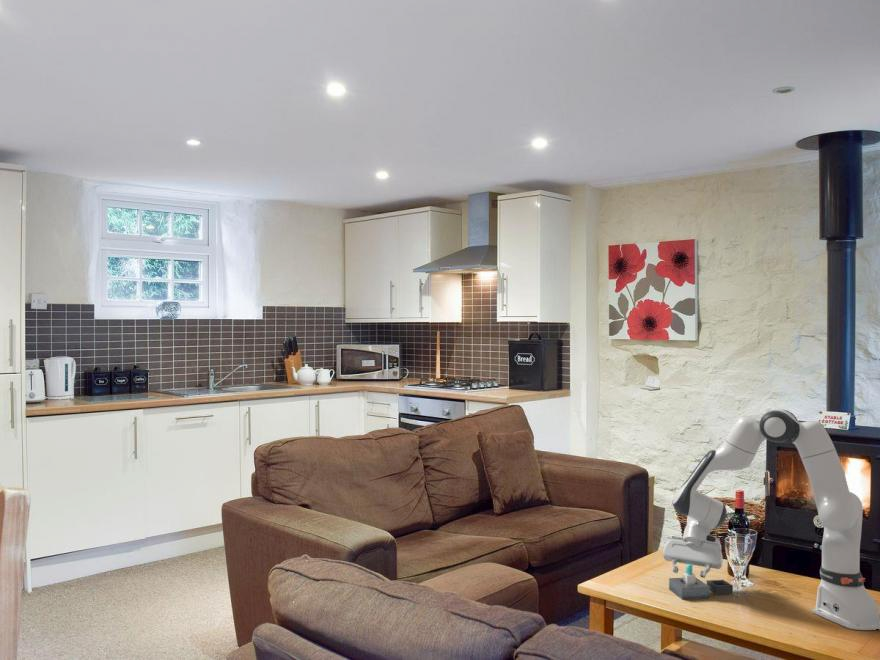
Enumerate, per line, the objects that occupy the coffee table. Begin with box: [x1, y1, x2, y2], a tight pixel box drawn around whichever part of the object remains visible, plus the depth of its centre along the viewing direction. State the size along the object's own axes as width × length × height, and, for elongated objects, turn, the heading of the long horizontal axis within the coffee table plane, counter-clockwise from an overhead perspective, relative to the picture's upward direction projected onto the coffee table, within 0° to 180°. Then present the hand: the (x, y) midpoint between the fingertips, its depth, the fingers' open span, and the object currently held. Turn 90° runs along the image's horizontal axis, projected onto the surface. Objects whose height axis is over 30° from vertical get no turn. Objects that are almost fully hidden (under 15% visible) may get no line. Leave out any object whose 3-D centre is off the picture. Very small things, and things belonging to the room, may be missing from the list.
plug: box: [682, 564, 696, 585], centre depth 264 cm, size 3×3×10 cm
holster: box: [706, 579, 734, 596], centre depth 267 cm, size 6×6×3 cm
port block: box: [668, 576, 710, 600], centre depth 264 cm, size 10×10×4 cm
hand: (688, 574), depth 264 cm, fingers open, 8 cm apart
